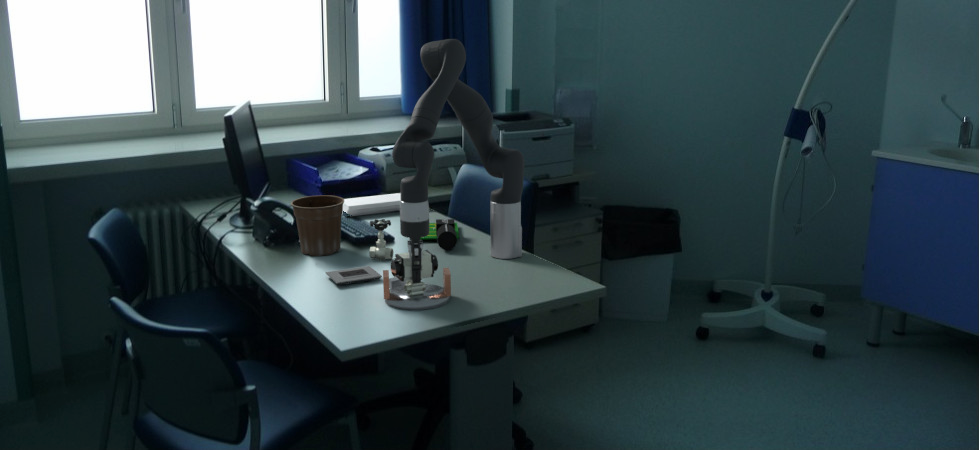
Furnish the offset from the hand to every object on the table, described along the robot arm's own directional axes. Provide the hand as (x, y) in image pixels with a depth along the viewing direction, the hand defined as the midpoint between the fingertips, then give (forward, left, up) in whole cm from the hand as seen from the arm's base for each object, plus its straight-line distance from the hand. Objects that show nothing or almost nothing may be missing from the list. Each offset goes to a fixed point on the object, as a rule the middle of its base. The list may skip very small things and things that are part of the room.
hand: (416, 278), depth 236 cm
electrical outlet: (+17, -19, -6) cm, 26 cm away
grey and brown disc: (0, 0, -6) cm, 6 cm away
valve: (+9, -37, -6) cm, 38 cm away
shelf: (+8, -97, -6) cm, 98 cm away
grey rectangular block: (+5, -11, -6) cm, 14 cm away
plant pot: (+28, -49, -6) cm, 56 cm away
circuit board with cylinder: (-9, -57, -6) cm, 58 cm away
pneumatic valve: (0, 0, -4) cm, 4 cm away
